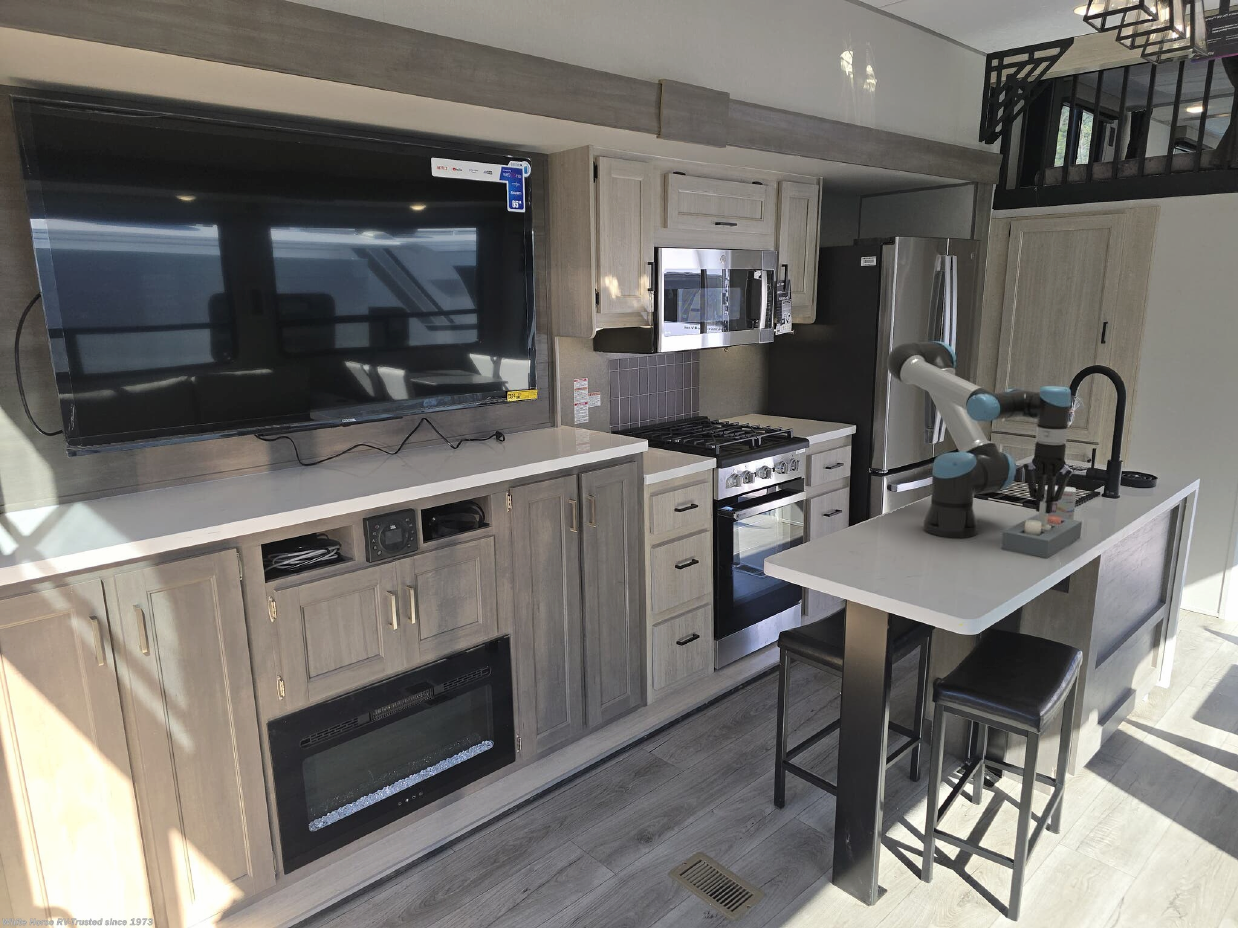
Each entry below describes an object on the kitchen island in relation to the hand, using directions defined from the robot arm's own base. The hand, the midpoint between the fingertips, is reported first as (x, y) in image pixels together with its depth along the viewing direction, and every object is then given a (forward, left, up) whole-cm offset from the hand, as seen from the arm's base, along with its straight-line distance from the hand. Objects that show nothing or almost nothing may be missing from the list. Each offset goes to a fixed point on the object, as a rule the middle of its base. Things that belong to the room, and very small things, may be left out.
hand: (1042, 523), depth 224 cm
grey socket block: (0, 0, -6) cm, 6 cm away
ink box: (+7, +21, -6) cm, 23 cm away
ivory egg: (-3, -7, -3) cm, 8 cm away
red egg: (+4, +6, -5) cm, 9 cm away
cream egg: (0, 0, -5) cm, 5 cm away
